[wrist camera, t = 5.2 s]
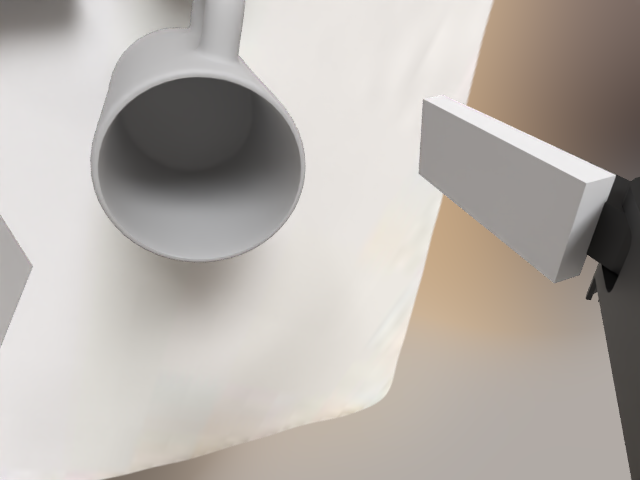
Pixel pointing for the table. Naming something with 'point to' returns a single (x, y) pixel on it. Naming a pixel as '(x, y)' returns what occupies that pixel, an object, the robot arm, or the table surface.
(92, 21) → the table surface
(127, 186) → the mug
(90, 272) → the table surface
